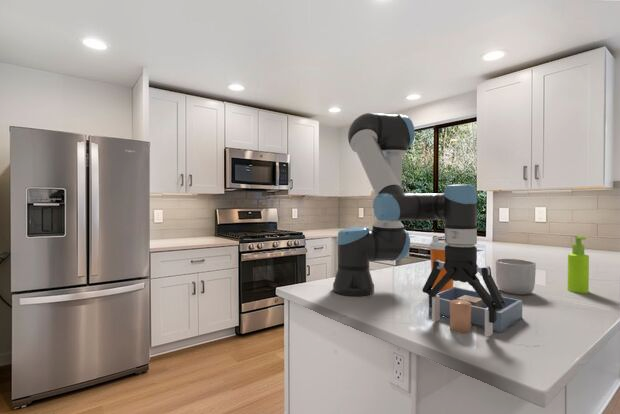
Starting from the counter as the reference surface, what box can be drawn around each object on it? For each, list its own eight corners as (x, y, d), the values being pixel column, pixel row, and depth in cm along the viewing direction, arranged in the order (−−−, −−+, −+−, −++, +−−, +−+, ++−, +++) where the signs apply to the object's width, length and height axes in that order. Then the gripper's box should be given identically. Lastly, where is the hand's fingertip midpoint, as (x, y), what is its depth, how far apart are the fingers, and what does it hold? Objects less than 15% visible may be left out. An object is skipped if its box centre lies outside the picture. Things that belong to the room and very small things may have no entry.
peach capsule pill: (446, 329, 86) (446, 302, 86) (455, 324, 89) (455, 298, 89) (465, 335, 82) (465, 306, 82) (474, 329, 85) (474, 302, 85)
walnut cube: (457, 316, 94) (457, 298, 94) (464, 312, 97) (464, 295, 97) (475, 320, 90) (475, 302, 90) (482, 316, 93) (482, 298, 93)
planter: (512, 286, 128) (512, 257, 127) (544, 294, 116) (544, 263, 116) (487, 289, 124) (487, 259, 124) (517, 298, 112) (517, 266, 112)
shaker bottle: (458, 294, 117) (458, 237, 116) (431, 293, 118) (431, 237, 118) (452, 288, 125) (452, 235, 125) (427, 287, 127) (427, 234, 127)
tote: (428, 313, 98) (428, 296, 98) (453, 302, 108) (453, 286, 108) (500, 332, 83) (501, 313, 83) (522, 318, 93) (522, 300, 93)
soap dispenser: (571, 293, 117) (572, 236, 117) (565, 288, 124) (565, 234, 123) (592, 294, 115) (593, 237, 115) (584, 289, 122) (585, 235, 121)
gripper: (409, 242, 92) (409, 318, 93) (508, 251, 73) (508, 347, 74) (424, 239, 97) (424, 312, 97) (520, 248, 78) (520, 337, 79)
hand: (460, 327), depth 86 cm, fingers open, 13 cm apart
